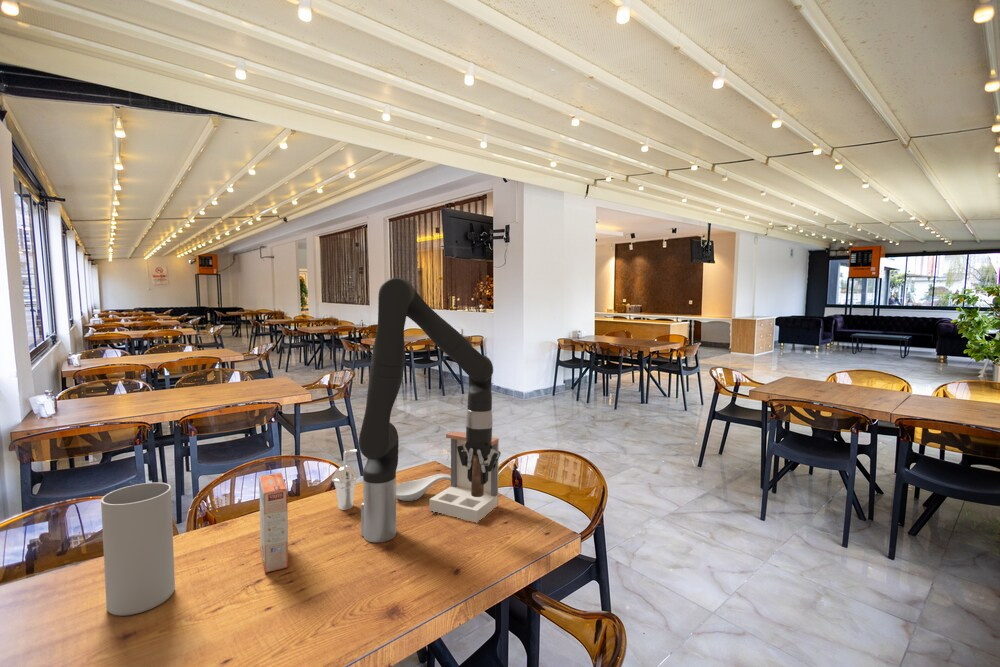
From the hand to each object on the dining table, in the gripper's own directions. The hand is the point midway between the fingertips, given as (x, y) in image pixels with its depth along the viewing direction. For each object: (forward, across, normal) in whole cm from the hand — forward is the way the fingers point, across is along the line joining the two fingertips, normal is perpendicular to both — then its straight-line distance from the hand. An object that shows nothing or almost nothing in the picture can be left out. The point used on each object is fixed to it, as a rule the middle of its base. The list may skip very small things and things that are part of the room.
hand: (477, 482), depth 139 cm
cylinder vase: (+18, -52, -63) cm, 83 cm away
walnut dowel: (+4, 0, 0) cm, 4 cm away
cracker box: (+17, -41, -37) cm, 57 cm away
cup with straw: (+17, -48, -5) cm, 51 cm away
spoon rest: (+17, -30, +16) cm, 38 cm away
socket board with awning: (+16, -12, +13) cm, 24 cm away
